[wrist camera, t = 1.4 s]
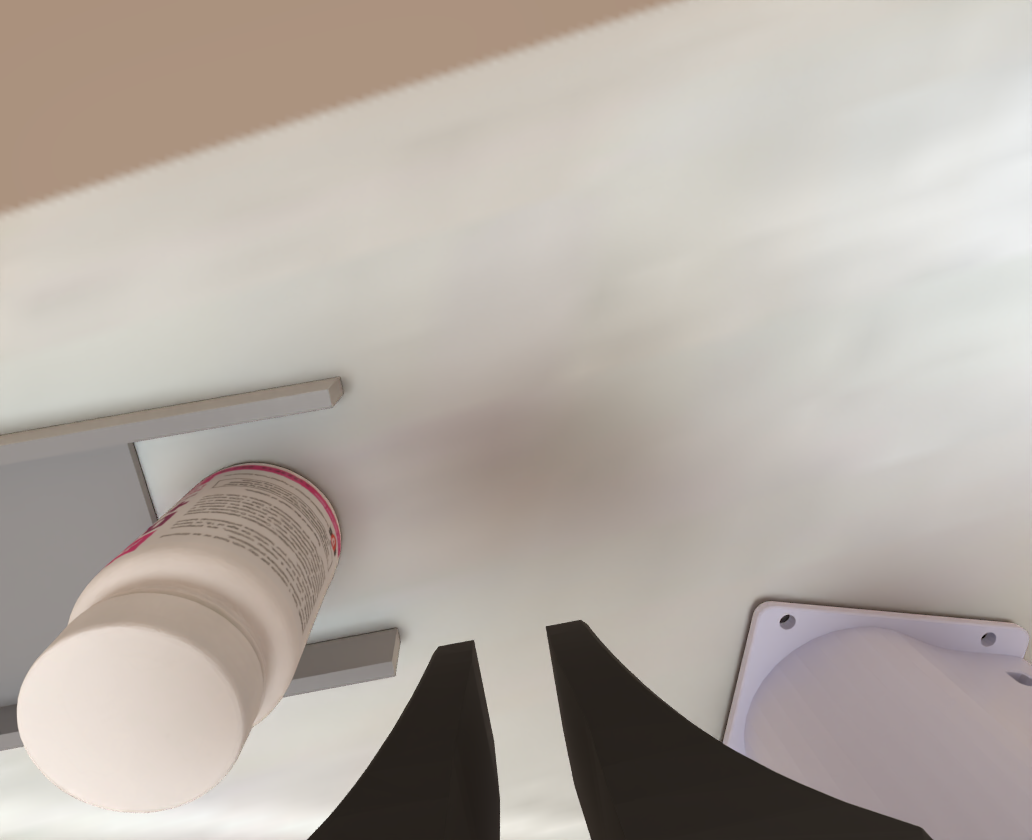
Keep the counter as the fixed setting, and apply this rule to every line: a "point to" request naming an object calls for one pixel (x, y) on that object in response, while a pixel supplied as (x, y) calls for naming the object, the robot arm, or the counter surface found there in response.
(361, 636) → the tray
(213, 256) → the counter surface
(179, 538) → the pill bottle
